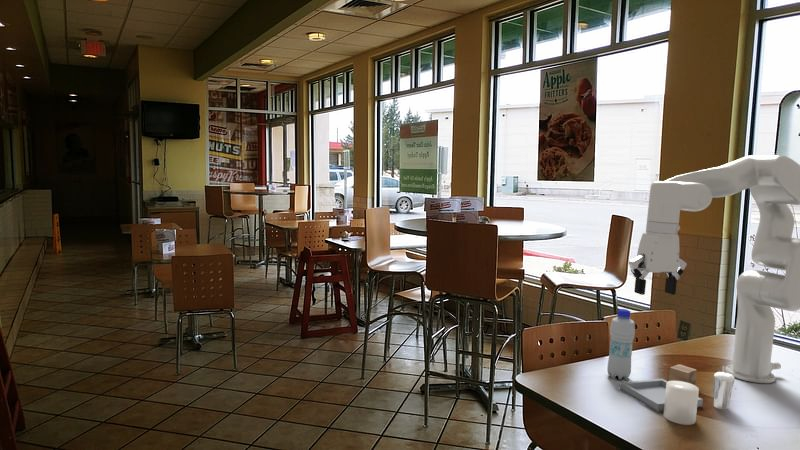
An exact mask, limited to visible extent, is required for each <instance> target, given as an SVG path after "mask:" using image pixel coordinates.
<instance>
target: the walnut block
mask: <svg viewBox="0 0 800 450" xmlns="http://www.w3.org/2000/svg"><path fill="white" fill-rule="evenodd" d="M697 372H698V369H696V368H692V367H689V366H686V365H684V364H681V363H680V364H675V365H673V366H670V367H669V375H668V381H682V382H687V383H690V384H693V385H695V386H696V381H697V380H696V378H697Z"/></svg>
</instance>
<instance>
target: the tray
mask: <svg viewBox="0 0 800 450" xmlns="http://www.w3.org/2000/svg"><path fill="white" fill-rule="evenodd" d="M668 381H669V380H668ZM668 381H667V380H665V379H664V378H654V379H653V378H652V379H644V380H643V379H642V380H631V381H622V382H619V391H621V392H623V393H624V394H626V395H628V396H629V397H631V398H633V399H635V400H637V402H640V403H641V404H644V405H645V406H647V407H648V408H650V409H652V410H653V411H656V413H658V412H664V403H665V393H666V383H667V382H668ZM703 402H704V400H703V398H701V397H699V396H698V403H697V408H702V407H703Z"/></svg>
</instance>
